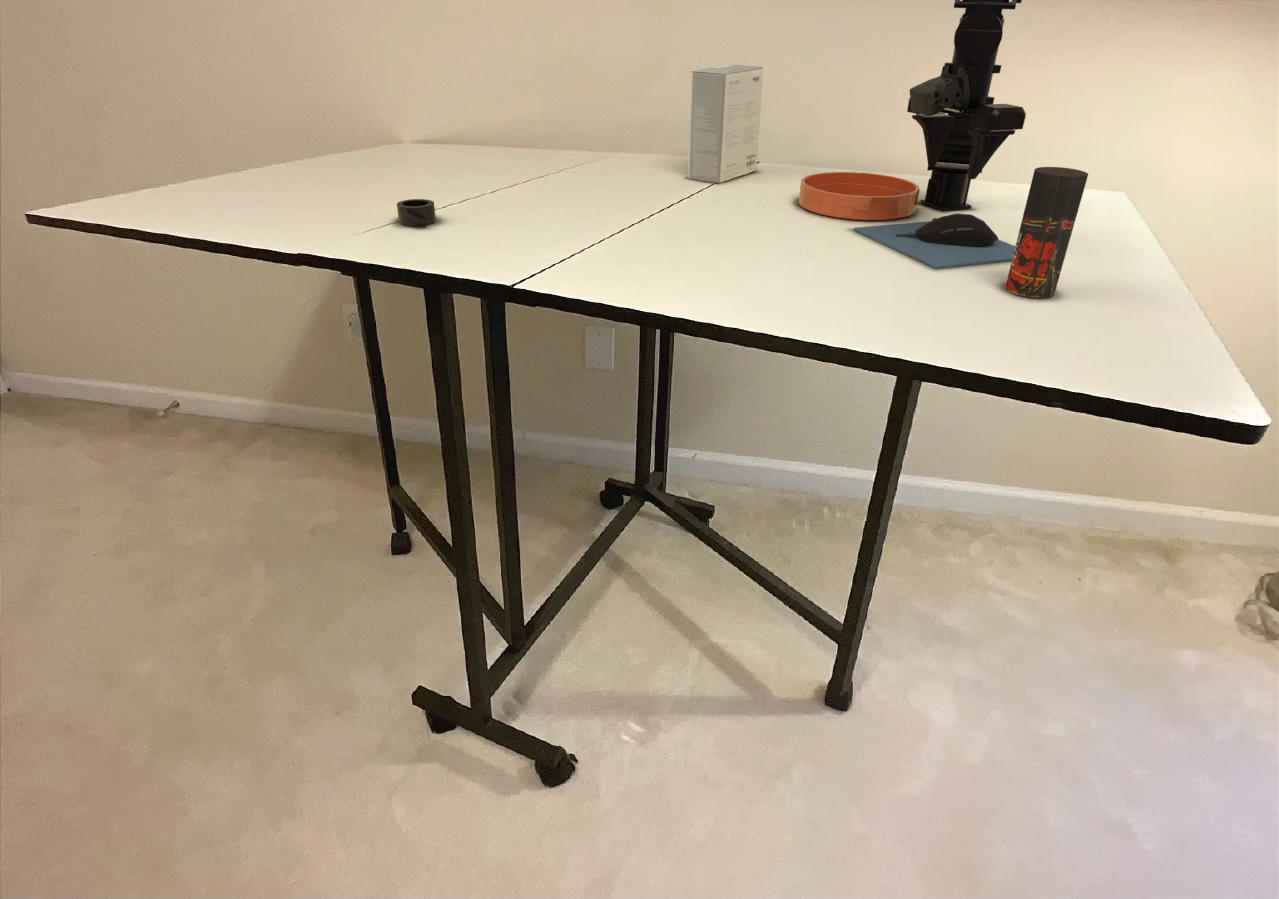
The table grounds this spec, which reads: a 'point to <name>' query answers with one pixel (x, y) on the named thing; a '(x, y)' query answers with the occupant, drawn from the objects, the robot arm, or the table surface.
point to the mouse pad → (937, 247)
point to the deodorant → (1045, 231)
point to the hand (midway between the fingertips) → (951, 172)
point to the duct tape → (416, 212)
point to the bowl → (858, 195)
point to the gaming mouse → (956, 231)
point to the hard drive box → (724, 122)
